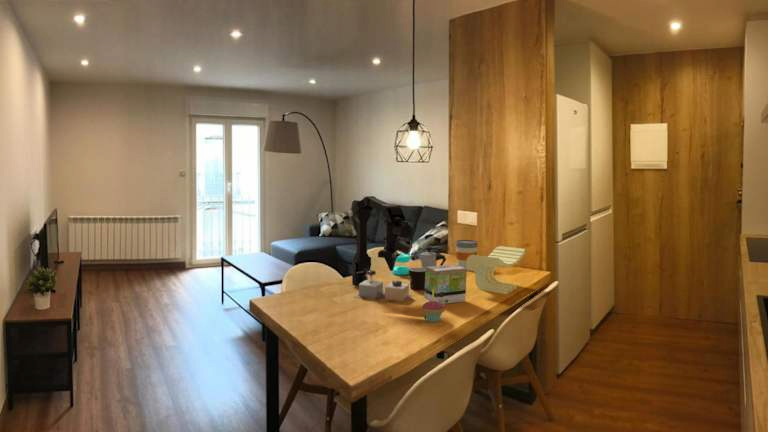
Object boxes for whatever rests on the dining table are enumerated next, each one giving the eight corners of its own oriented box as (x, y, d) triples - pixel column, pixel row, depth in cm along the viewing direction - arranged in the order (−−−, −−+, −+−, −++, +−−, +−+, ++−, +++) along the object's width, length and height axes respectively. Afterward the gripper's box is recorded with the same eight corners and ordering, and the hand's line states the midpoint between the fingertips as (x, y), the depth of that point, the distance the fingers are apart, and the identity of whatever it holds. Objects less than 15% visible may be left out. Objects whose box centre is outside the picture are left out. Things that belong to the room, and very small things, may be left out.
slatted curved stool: (493, 280, 246) (494, 245, 244) (523, 284, 236) (525, 248, 235) (465, 292, 222) (466, 253, 221) (497, 298, 213) (499, 258, 211)
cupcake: (420, 316, 186) (420, 286, 185) (442, 316, 187) (442, 285, 185) (424, 323, 177) (424, 291, 176) (446, 323, 178) (447, 291, 177)
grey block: (359, 296, 210) (359, 283, 209) (367, 291, 219) (367, 279, 218) (376, 298, 207) (376, 285, 207) (384, 292, 216) (384, 280, 215)
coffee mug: (425, 293, 219) (426, 271, 218) (406, 292, 221) (407, 271, 220) (428, 287, 230) (428, 266, 229) (410, 286, 232) (410, 265, 231)
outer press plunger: (387, 297, 206) (387, 282, 205) (392, 294, 212) (392, 279, 211) (401, 299, 204) (401, 284, 203) (406, 295, 210) (406, 280, 209)
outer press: (384, 299, 206) (384, 286, 205) (392, 293, 215) (392, 281, 214) (402, 301, 203) (402, 288, 202) (409, 295, 212) (409, 283, 211)
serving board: (353, 299, 208) (353, 297, 208) (365, 292, 220) (365, 290, 220) (404, 305, 200) (404, 303, 200) (413, 297, 212) (413, 295, 212)
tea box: (436, 306, 200) (437, 271, 198) (423, 300, 209) (424, 266, 207) (466, 301, 207) (467, 267, 205) (452, 295, 216) (453, 263, 214)
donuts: (414, 254, 259) (404, 257, 251) (414, 273, 260) (404, 276, 252) (398, 252, 265) (388, 255, 257) (398, 270, 266) (388, 274, 258)
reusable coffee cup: (454, 269, 271) (455, 242, 269) (454, 264, 283) (455, 239, 281) (477, 270, 268) (478, 243, 267) (476, 265, 281) (477, 240, 279)
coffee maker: (413, 283, 238) (413, 247, 236) (419, 279, 246) (419, 244, 244) (442, 286, 232) (443, 249, 230) (447, 282, 240) (448, 246, 238)
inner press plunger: (361, 287, 210) (361, 272, 209) (367, 283, 216) (367, 269, 215) (375, 288, 208) (375, 273, 207) (380, 285, 214) (380, 270, 213)
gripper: (403, 239, 195) (402, 277, 196) (416, 233, 212) (415, 267, 214) (377, 237, 198) (377, 274, 200) (392, 231, 216) (392, 265, 218)
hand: (391, 270), depth 208 cm, fingers closed
